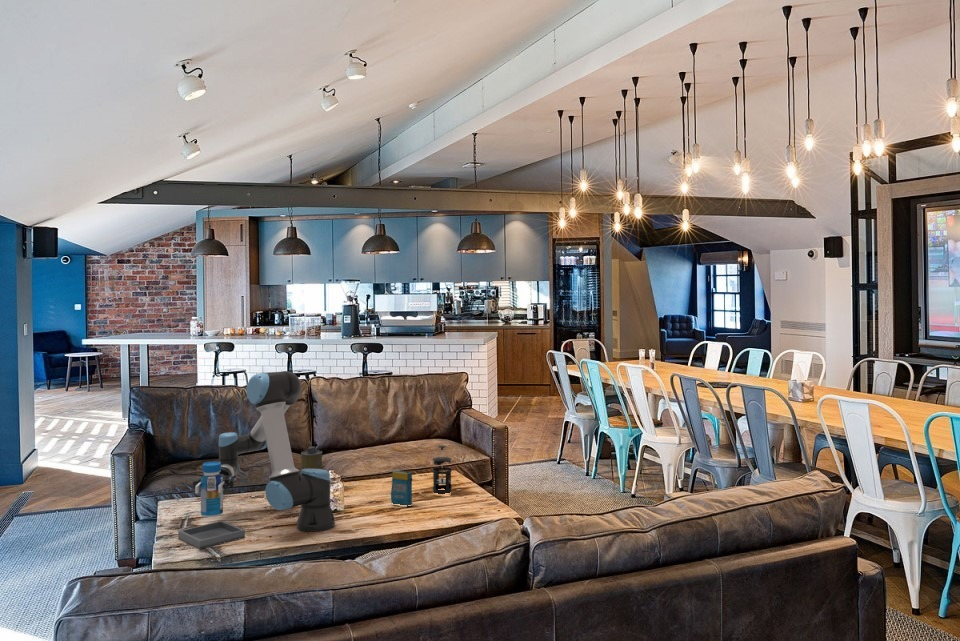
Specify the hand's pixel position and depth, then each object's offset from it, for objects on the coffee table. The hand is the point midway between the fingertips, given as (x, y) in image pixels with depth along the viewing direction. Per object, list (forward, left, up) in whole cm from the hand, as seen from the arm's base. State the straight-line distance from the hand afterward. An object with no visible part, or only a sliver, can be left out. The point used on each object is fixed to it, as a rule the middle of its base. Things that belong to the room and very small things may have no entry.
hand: (207, 489), depth 275 cm
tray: (+3, -3, -20) cm, 20 cm away
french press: (-16, -108, -20) cm, 111 cm away
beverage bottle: (+4, -3, -11) cm, 12 cm away
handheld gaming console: (-17, -82, -20) cm, 86 cm away
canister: (+41, -74, -20) cm, 87 cm away
